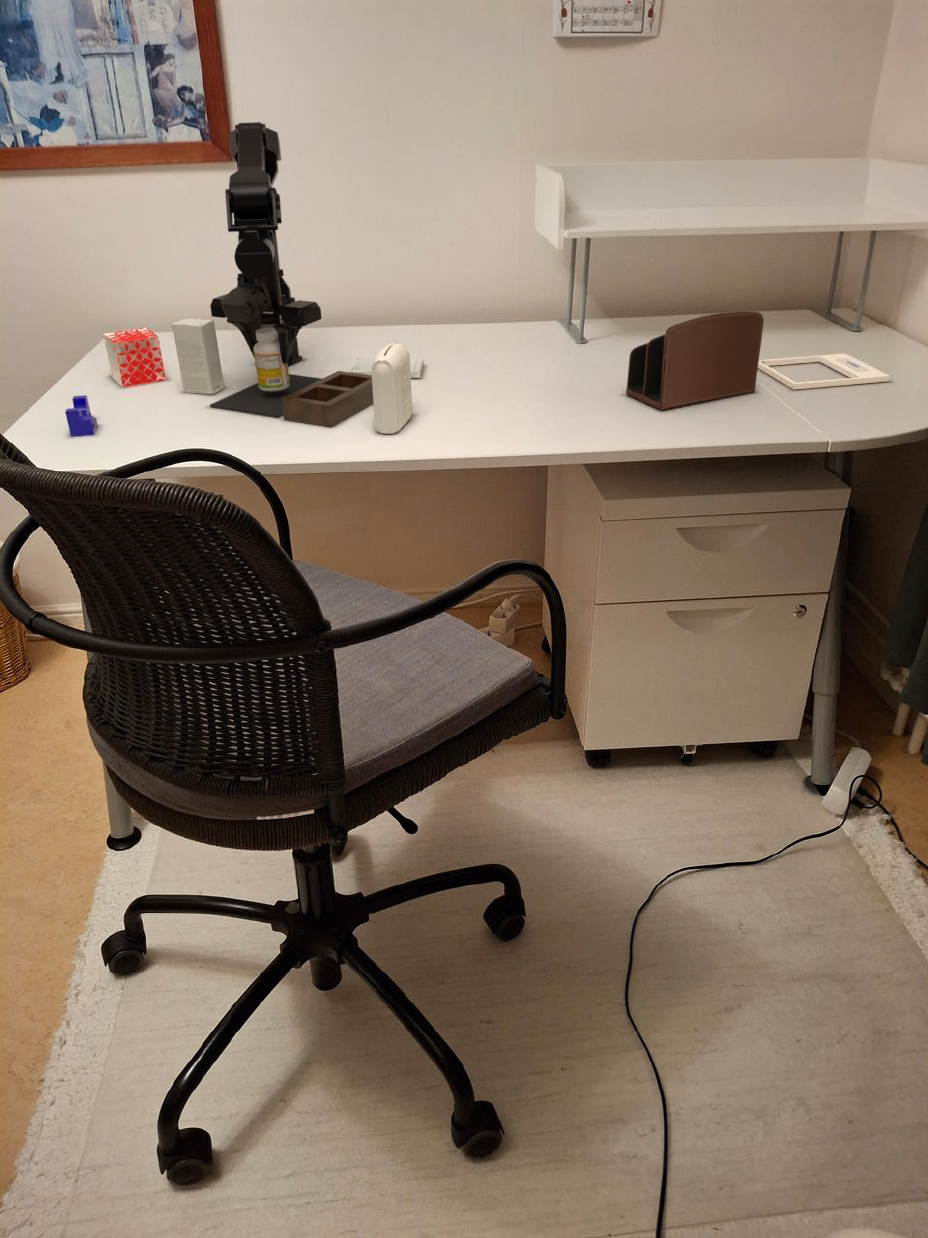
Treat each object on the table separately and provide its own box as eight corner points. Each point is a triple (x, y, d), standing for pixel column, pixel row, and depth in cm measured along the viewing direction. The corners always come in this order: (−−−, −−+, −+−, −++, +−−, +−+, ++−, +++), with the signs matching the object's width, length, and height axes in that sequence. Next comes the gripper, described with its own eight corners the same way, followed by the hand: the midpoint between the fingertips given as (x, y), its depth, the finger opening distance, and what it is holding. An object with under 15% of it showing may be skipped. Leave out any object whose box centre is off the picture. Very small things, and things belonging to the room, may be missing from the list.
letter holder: (755, 392, 163) (767, 307, 156) (661, 411, 156) (669, 323, 149) (717, 377, 171) (726, 295, 164) (625, 395, 164) (630, 310, 156)
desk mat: (210, 407, 162) (209, 404, 162) (279, 374, 178) (279, 372, 177) (278, 417, 157) (277, 415, 157) (344, 383, 172) (343, 381, 172)
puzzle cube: (166, 380, 176) (158, 336, 172) (122, 387, 173) (113, 343, 169) (154, 369, 182) (146, 327, 178) (112, 376, 179) (103, 333, 175)
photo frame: (890, 374, 166) (794, 382, 163) (889, 381, 167) (793, 389, 164) (845, 352, 179) (755, 359, 176) (844, 358, 179) (754, 365, 176)
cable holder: (94, 434, 152) (88, 410, 150) (71, 436, 151) (65, 411, 149) (101, 418, 158) (96, 394, 156) (79, 419, 158) (73, 396, 156)
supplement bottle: (274, 380, 169) (267, 324, 164) (296, 385, 166) (290, 328, 161) (252, 388, 165) (244, 331, 160) (274, 394, 162) (267, 335, 157)
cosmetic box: (225, 388, 171) (215, 319, 165) (212, 395, 168) (201, 325, 162) (196, 385, 173) (184, 317, 167) (182, 392, 170) (170, 323, 163)
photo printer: (390, 412, 158) (385, 336, 152) (415, 414, 157) (412, 337, 151) (372, 434, 149) (366, 354, 143) (398, 435, 149) (394, 355, 142)
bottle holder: (283, 419, 156) (281, 398, 154) (339, 390, 169) (338, 370, 167) (331, 427, 152) (329, 405, 151) (385, 396, 165) (383, 376, 163)
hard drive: (351, 370, 173) (420, 369, 173) (357, 358, 180) (423, 357, 180) (352, 379, 174) (420, 379, 174) (358, 366, 181) (423, 365, 181)
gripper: (181, 270, 153) (197, 367, 161) (277, 279, 146) (289, 381, 154) (225, 257, 161) (238, 350, 169) (318, 265, 154) (327, 362, 162)
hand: (271, 361), depth 163 cm, fingers closed on supplement bottle, 5 cm apart
